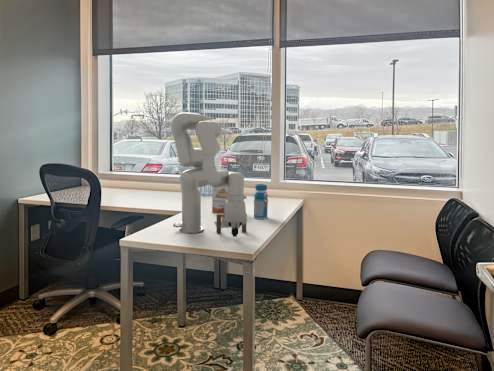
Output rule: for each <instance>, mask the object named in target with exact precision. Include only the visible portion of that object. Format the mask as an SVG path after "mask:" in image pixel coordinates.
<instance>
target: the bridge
mask: <svg viewBox="0 0 494 371" xmlns="http://www.w3.org/2000/svg"><path fill="white" fill-rule="evenodd" d="M222 217H224V213H216V222H217V227H216V226H215V227H216V232H215V233H216V234H222V228H221V221H222ZM247 217H248V216H247V213H246V224H243V225H241V232H242V233H244V234H245V233H247V219H248V218H247Z"/></svg>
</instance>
